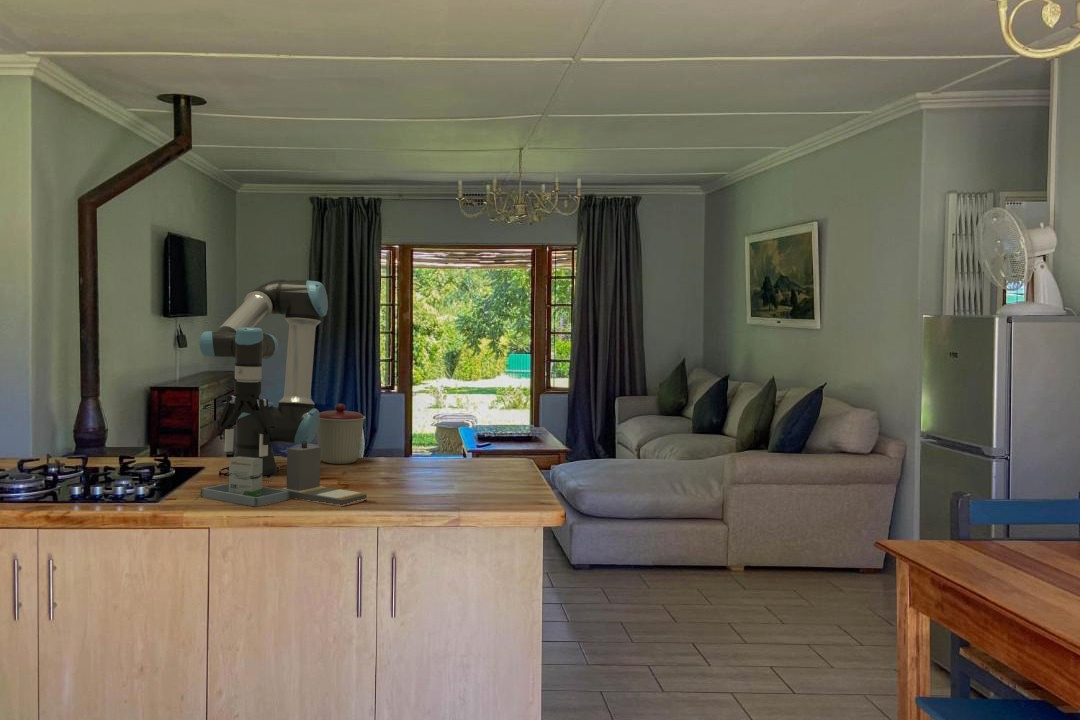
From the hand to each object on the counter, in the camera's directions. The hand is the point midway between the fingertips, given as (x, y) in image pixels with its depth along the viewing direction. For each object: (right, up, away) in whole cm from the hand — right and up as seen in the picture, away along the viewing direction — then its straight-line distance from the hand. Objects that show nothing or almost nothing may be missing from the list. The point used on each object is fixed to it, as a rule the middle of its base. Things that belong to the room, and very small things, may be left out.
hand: (245, 453), depth 299 cm
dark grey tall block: (+15, -11, +9) cm, 20 cm away
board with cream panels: (+21, -14, +5) cm, 26 cm away
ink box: (-1, -13, +1) cm, 13 cm away
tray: (-1, -13, +1) cm, 13 cm away
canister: (+13, -10, +70) cm, 72 cm away
